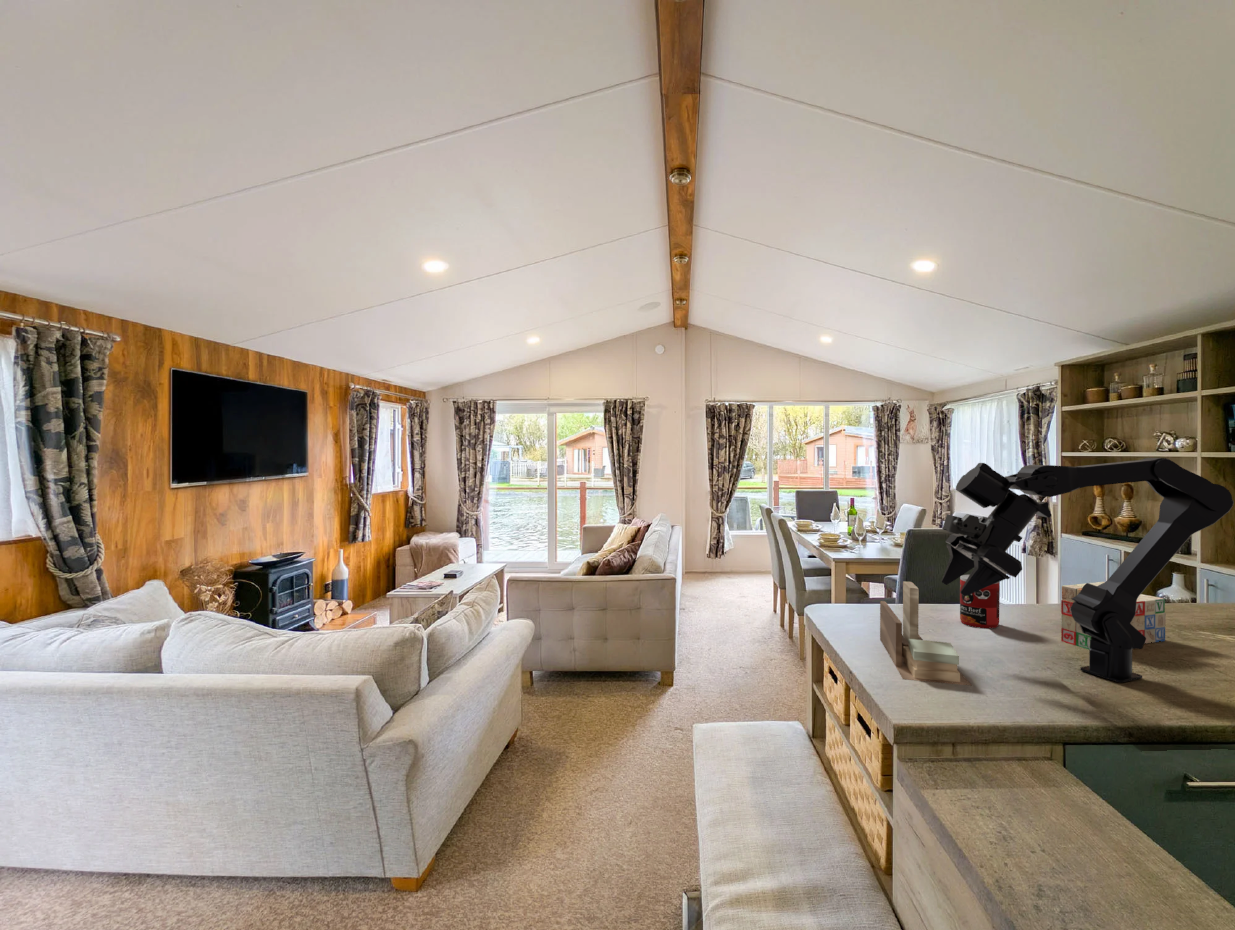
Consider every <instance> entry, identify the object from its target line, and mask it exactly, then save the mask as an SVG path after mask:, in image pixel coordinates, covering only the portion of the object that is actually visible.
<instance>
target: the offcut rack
mask: <svg viewBox="0 0 1235 930" xmlns="http://www.w3.org/2000/svg"><path fill="white" fill-rule="evenodd" d="M879 607H880V608H879V611H880V613H879V614H880V616H879V640H880V642H881V643H882V646H883V647H884V649H885V650H886V652H887V654H888V656H889V658H890V660H891V661H892V663H893V665H894V666H895V668H896V669H897V671H898V674H899V675H900V677H901V678H902V680H906V681H915V682H917V681H919V682H930V683H938V684H939V683H940V684H950V685H951V684H952V685H961V686H962V685H963V686H970V687H971V686H972V683H971V682H970V681H969V680H968V679H967V677H965V676H964V674H963V673H962V672H961V671H960V670H959V668H957V670H958V671H959V673H960V682H953V681H942V680H931V679H920V678H914V676H913V675H912V673H911V672H910V670H909V669H908V667H907V665H906V664H905V662H904V655H903V654H902V652H903V646H907V647H909V643H908V642H907V641H906V639H905V638H904V636H903V622H902V621H901V620H900V619H899V618H898V616H897V615H896V613H895V612H894V611H893V610H892V608H891V607H890V606H889V604H888V603H887V602H886V601H882V600H881V601H880V602H879ZM918 640H924V639H923V638H922V636H921V635H920V634H919V633H918Z"/></svg>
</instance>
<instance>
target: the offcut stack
mask: <svg viewBox="0 0 1235 930" xmlns="http://www.w3.org/2000/svg"><path fill="white" fill-rule="evenodd" d="M902 654H903V655H904V662H905V664H906V665H907V667H908V669H909V670H910V672H911V673H912V675H913V676H914V678H920V679H931V680H942V681H953V682H960V673H959V671H960V670H959V669H958V666H959V665H960V655H959V654H958V652H957V651H956V649H955V648H954V646H953V644H952V643H951V642H944V641H938V640H937V641H935V640H924V639H923V640H916V639H909V647H907V646H903V652H902ZM957 669H958V670H959V671H958V670H957Z"/></svg>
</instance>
